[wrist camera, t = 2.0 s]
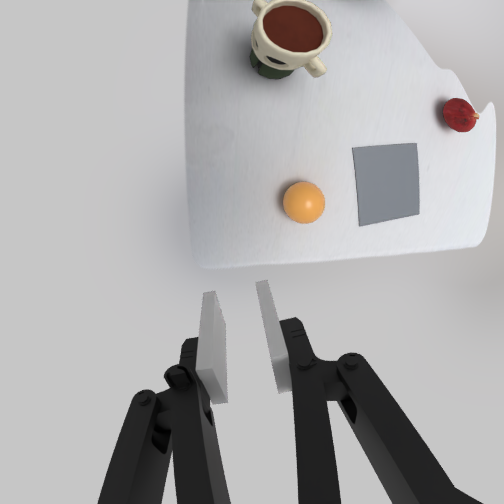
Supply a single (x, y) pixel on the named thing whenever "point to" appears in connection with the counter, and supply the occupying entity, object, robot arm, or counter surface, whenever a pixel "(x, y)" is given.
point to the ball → (304, 202)
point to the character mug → (289, 37)
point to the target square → (386, 182)
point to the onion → (459, 115)
